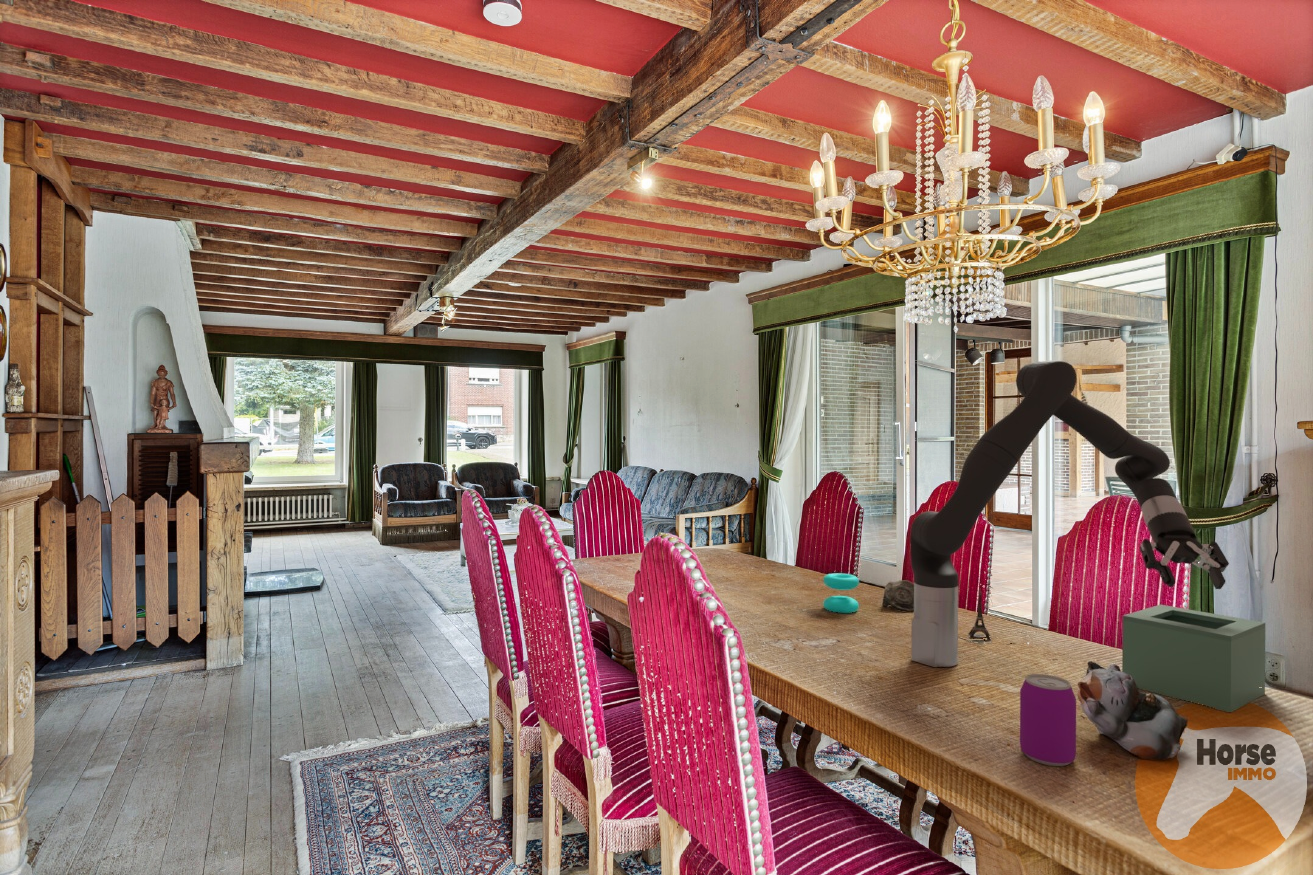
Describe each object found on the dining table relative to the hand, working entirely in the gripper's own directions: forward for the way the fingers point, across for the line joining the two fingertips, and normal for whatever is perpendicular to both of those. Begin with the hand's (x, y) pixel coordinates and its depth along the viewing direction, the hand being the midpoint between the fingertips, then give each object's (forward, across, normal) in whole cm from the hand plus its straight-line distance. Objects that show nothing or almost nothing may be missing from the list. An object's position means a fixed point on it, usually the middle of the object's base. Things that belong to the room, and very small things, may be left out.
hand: (1196, 585), depth 142 cm
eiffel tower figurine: (-7, -33, +38) cm, 51 cm away
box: (+14, 0, +16) cm, 21 cm away
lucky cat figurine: (+36, -24, -6) cm, 44 cm away
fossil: (-27, -48, +57) cm, 79 cm away
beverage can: (+42, -40, -12) cm, 59 cm away
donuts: (-23, -65, +53) cm, 87 cm away
